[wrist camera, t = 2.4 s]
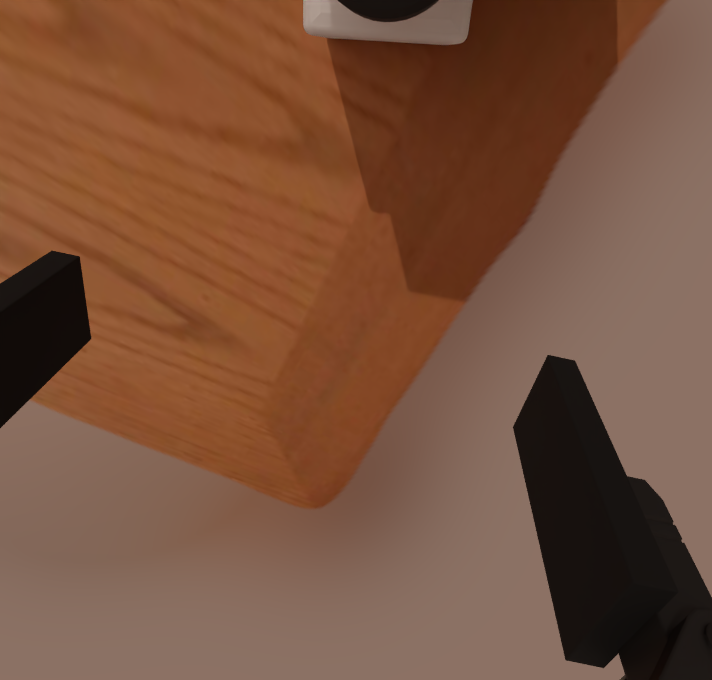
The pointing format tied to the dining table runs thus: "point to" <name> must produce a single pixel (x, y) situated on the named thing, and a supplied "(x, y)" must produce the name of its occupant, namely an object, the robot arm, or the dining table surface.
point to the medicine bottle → (389, 20)
